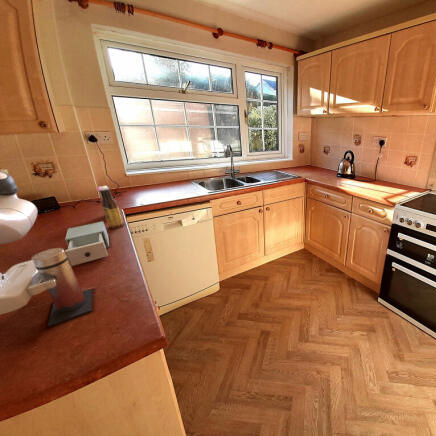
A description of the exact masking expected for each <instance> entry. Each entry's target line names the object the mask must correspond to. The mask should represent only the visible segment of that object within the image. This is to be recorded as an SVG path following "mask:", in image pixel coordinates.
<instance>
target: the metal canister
mask: <svg viewBox="0 0 436 436" xmlns="http://www.w3.org/2000/svg"><path fill="white" fill-rule="evenodd" d="M65 251H66V250H65V249H64V248H62V247H55V248H49V249H46V250H43V251H40V252H38V253H36V254H34V255H32V257H31V260H32V261H33V263H34V265H35V267H36V269H37V271H38V273H39V274H40V276H41V278H42V280H43V281H42V283H43V282H45V281H46V280H49V279H56V281H57V284H56V286H55V287H53V288H49V289H47V290H46V291H47V292H48V294H49V296H50V299H51V300H52V302H54V304H55V306H56V308H57V310H58V312H60V313H67V312H71V311H73V310H76V309H78V308H79V307H81V306H82V305H83V304H84V303H85V302H86V299H85V297H84V294H83V289H82V288H81V286H80V283H79V281H78V279H77V276H76V274H75V272H74V270H73V266H71V263H70V261H69V259H68V256H67V254H66V252H65Z"/></svg>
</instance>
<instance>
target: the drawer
mask: <svg viewBox="0 0 436 436" xmlns="http://www.w3.org/2000/svg"><path fill="white" fill-rule="evenodd" d="M64 251H65V254H66V256H67V257H68V260H69V263H70V265H71V267H73V266H76V265H80V264H85V263H87V262H91V261H95V260H99V259H101V258H105V257H108V256H109V253H108V250H107V248H106V245H105V242H104V239H103V236H102V233H97V234H93V235H89V236H84V237H80V238H76V239H71V240H70V242H69V246H68V245H67V249H65V250H64Z"/></svg>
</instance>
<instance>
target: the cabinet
mask: <svg viewBox="0 0 436 436" xmlns="http://www.w3.org/2000/svg"><path fill="white" fill-rule="evenodd" d="M97 233H102V236H103V239H104V242H105V245H106V249H107V248H110V239H109V235H108V231H107V229H106V226H105V223H104V220H103V221H98V222H93V223H88V224H84V225H79V226H74V227H70V228H67V232H66V235H65V238H64V240H65V243H66V245H67V247H68V246H69V242H70V240H71V239H76V238H80V237H84V236H89V235H93V234H97Z"/></svg>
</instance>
